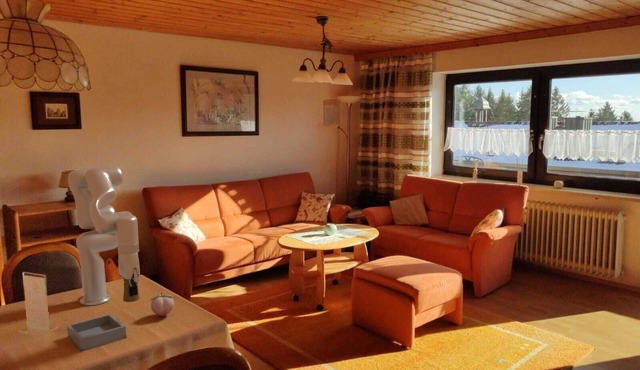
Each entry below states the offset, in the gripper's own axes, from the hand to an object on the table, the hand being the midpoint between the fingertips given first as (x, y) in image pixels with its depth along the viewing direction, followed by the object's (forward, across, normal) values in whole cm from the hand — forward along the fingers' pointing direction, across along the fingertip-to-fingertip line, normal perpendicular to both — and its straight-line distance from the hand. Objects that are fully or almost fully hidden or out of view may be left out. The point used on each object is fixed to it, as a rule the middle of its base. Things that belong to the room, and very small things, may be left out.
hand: (131, 293), depth 194 cm
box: (+15, -2, -13) cm, 20 cm away
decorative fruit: (+15, -4, +14) cm, 21 cm away
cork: (+3, 0, 0) cm, 3 cm away
